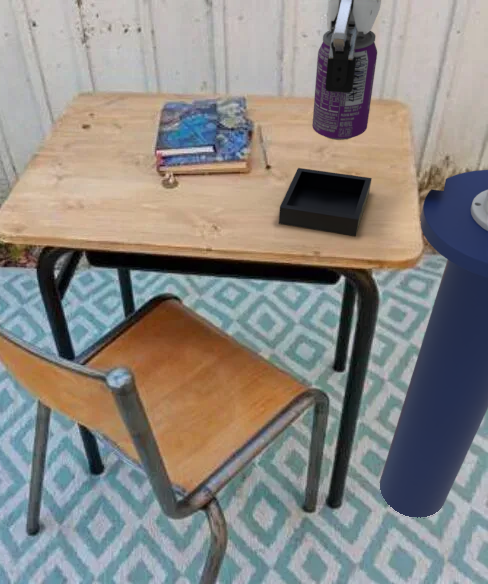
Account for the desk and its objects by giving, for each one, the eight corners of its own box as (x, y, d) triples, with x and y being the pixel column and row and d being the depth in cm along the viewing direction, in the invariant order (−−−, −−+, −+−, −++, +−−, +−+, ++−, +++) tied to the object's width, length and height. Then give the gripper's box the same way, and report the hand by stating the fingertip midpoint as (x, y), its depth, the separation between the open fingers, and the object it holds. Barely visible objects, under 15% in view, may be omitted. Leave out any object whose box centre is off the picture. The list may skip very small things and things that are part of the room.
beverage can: (374, 124, 87) (387, 29, 78) (355, 148, 83) (367, 51, 74) (324, 114, 89) (332, 22, 81) (303, 138, 85) (309, 43, 77)
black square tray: (368, 194, 97) (371, 177, 95) (355, 236, 90) (358, 219, 88) (296, 184, 100) (298, 167, 98) (278, 223, 93) (279, 207, 91)
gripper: (387, -69, 61) (363, 111, 74) (410, -113, 72) (385, 51, 85) (309, -71, 64) (299, 105, 76) (342, -113, 74) (328, 48, 87)
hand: (344, 76), depth 81 cm, fingers closed on beverage can, 7 cm apart
